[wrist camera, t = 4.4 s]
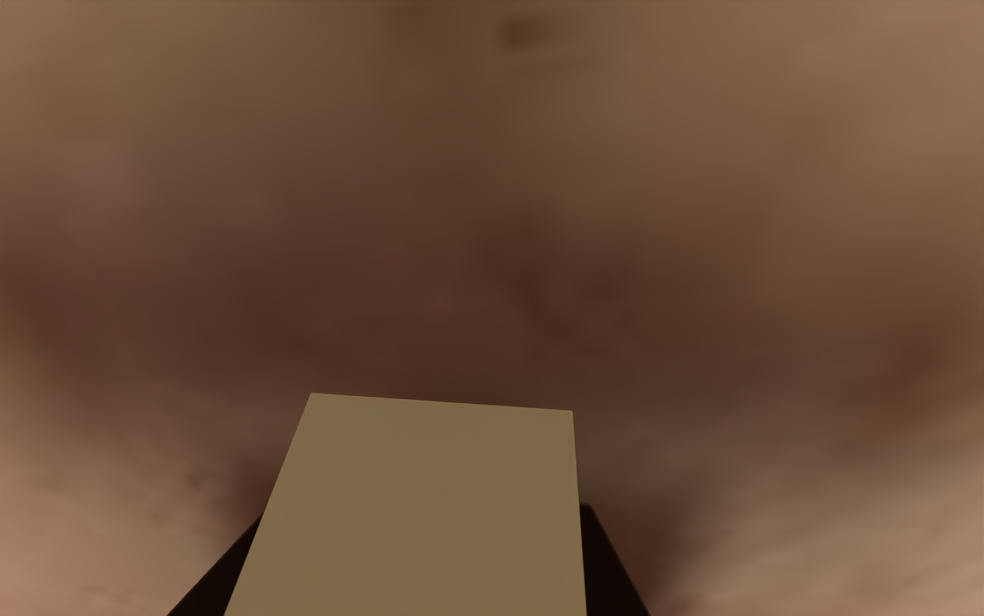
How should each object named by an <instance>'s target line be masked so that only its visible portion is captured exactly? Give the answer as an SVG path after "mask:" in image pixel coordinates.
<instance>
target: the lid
mask: <svg viewBox="0 0 984 616" xmlns="http://www.w3.org/2000/svg"><path fill="white" fill-rule="evenodd" d="M224 616H587V614H586V599H585V585H584V570H583V555H582V541H581V526H580V511H579V497H578V482H577V468H576V453H575V438H574V424H573V411H570V410H556V409H541V408H526V407H512V406H497V405H482V404H468V403H453V402H438V401H423V400H409V399H394V398H379V397H365V396H350V395H335V394H321V393H310V396H309V399H308V401H307V404H306V406H305V409H304V411H303V414H302V417H301V419H300V422H299V424H298V427H297V429H296V432H295V435H294V437H293V440H292V442H291V445H290V447H289V450H288V453H287V455H286V458H285V460H284V463H283V465H282V468H281V471H280V473H279V476H278V478H277V481H276V483H275V486H274V489H273V491H272V494H271V496H270V499H269V501H268V504H267V507H266V509H265V512H264V514H263V517H262V519H261V522H260V524H259V527H258V530H257V532H256V535H255V537H254V540H253V542H252V545H251V548H250V550H249V553H248V555H247V558H246V560H245V563H244V566H243V568H242V571H241V573H240V576H239V578H238V581H237V584H236V586H235V589H234V591H233V594H232V596H231V599H230V602H229V604H228V607H227V609H226V612H225V614H224Z"/></svg>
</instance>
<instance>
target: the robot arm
mask: <svg viewBox="0 0 984 616" xmlns="http://www.w3.org/2000/svg"><path fill="white" fill-rule="evenodd" d="M579 511H580V526H581V541H582V555H583V570H584V585H585V599H586V614H587V616H651V615H650V613H649V611H648V609H647V607H646V606H645V604H644V602H643V600H642V598H641V596H640V595H639V593H638V591H637V589H636V587H635V585H634V583H633V582H632V580H631V578H630V576H629V574H628V572H627V570H626V569H625V567H624V565H623V563H622V561H621V559H620V558H619V556H618V554H617V552H616V550H615V548H614V546H613V545H612V543H611V541H610V539H609V537H608V535H607V534H606V532H605V530H604V528H603V526H602V524H601V522H600V521H599V519H598V517H597V515H596V513H595V511H594V510H593V508H592V507H591V506H590V505H589V504H587V503H580V502H579ZM264 512H265V511H264ZM264 512H263V513H262V514H261V515H260V516H259V517H258V518H257V519H256V521H255V522H254V523H253V524H252V525H251V526H250V527H249V528H248V529H247V530H246V531H245V532H244V533H243V534H242V536H241V537H240V538H239V539H238V540H237V541H236V542H235V543H234V544H233V545H232V546H231V547H230V548H229V549H228V550H227V552H226V553H225V554H224V555H223V556H222V557H221V558H220V559H219V560H218V561H217V562H216V563H215V564H214V565H213V567H212V568H211V569H210V570H209V571H208V572H207V573H206V574H205V575H204V576H203V577H202V578H201V579H200V580H199V582H198V583H197V584H196V585H195V586H194V587H193V588H192V589H191V590H190V591H189V592H188V593H187V594H186V595H185V596H184V598H183V599H182V600H181V601H180V602H179V603H178V604H177V605H176V606H175V607H174V608H173V609H172V610H171V611H170V613H169V614H168V615H167V616H224V614H225V612H226V609H227V607H228V604H229V602H230V599H231V596H232V594H233V591H234V589H235V586H236V584H237V581H238V578H239V576H240V573H241V571H242V568H243V566H244V563H245V560H246V558H247V555H248V553H249V550H250V548H251V545H252V542H253V540H254V537H255V535H256V532H257V530H258V527H259V524H260V522H261V519H262V517H263V514H264Z"/></svg>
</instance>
